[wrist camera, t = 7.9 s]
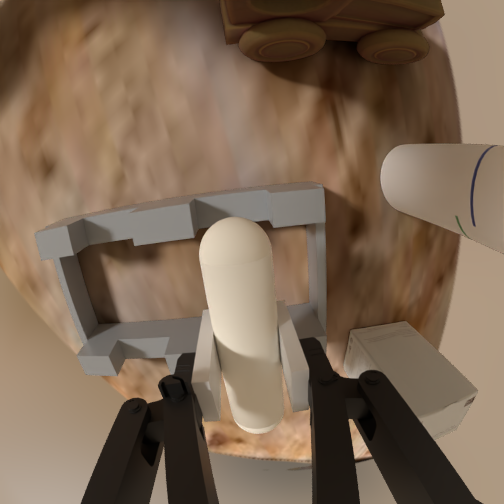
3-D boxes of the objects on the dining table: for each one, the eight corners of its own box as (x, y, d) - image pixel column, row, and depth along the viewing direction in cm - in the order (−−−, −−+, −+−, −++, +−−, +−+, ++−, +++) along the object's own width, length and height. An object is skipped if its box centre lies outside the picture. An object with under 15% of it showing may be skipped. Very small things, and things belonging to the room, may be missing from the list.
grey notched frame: (101, 346, 29) (82, 378, 23) (62, 219, 24) (28, 234, 18) (317, 325, 30) (334, 360, 24) (311, 181, 25) (334, 187, 19)
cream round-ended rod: (236, 409, 19) (235, 444, 16) (199, 215, 15) (187, 230, 12) (282, 404, 19) (287, 440, 16) (265, 207, 15) (271, 220, 12)
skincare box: (341, 366, 32) (388, 462, 18) (349, 325, 30) (412, 422, 16) (398, 356, 32) (456, 434, 18) (410, 316, 31) (482, 392, 16)
